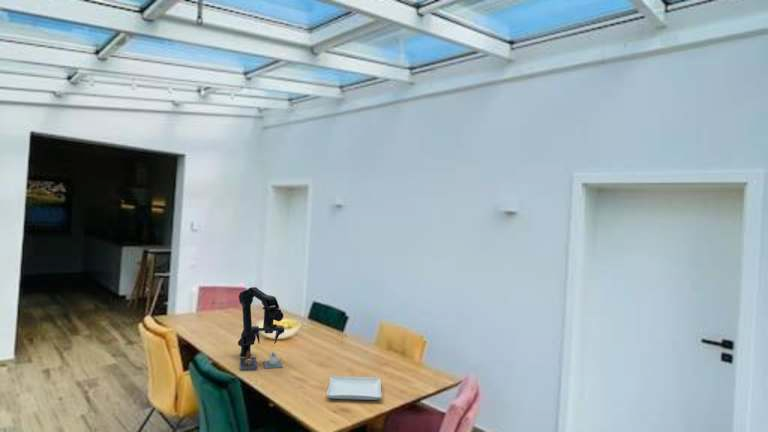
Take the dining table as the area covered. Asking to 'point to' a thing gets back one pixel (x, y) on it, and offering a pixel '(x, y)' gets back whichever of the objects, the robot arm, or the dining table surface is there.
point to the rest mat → (267, 365)
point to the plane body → (248, 363)
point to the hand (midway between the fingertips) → (266, 343)
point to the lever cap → (273, 359)
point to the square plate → (354, 388)
